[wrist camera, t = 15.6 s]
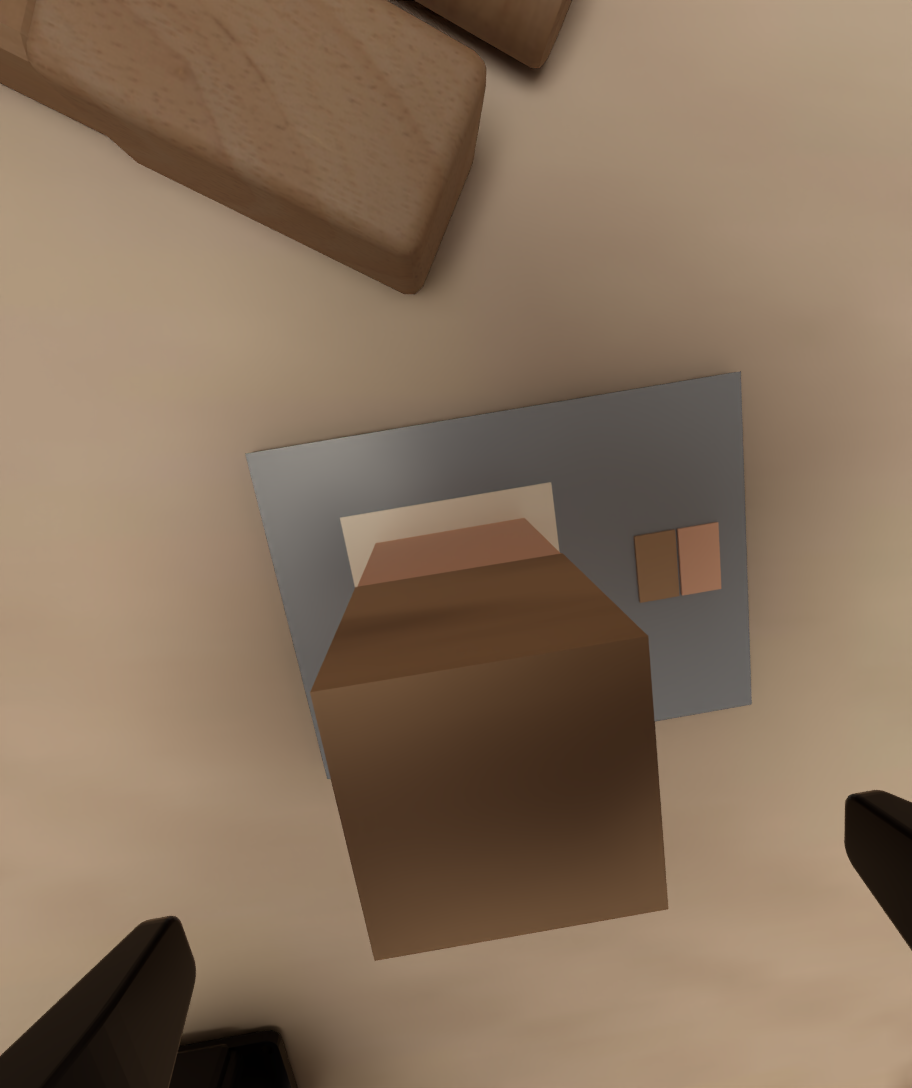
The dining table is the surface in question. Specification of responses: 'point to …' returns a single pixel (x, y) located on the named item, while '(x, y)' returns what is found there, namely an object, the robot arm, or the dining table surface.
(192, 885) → the dining table surface
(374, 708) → the walnut block
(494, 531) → the terracotta block
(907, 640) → the dining table surface
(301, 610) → the grey flat plate
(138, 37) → the wooden block set
